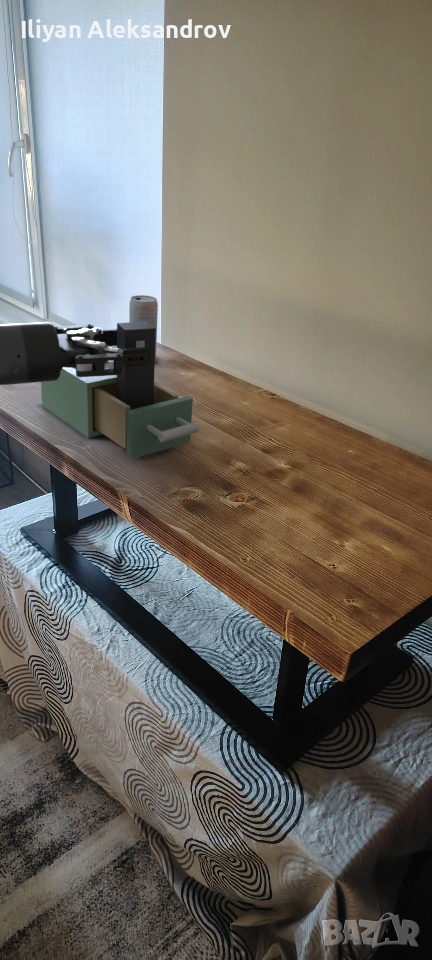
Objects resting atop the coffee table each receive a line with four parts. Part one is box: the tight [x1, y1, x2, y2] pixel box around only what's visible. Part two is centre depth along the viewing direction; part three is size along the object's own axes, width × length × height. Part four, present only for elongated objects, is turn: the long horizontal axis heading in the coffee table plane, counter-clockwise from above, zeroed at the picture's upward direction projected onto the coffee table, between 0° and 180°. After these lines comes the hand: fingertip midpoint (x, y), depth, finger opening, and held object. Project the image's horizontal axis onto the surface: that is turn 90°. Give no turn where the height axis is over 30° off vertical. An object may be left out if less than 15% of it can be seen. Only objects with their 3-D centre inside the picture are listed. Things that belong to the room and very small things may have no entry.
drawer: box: [92, 381, 200, 460], centre depth 90 cm, size 17×10×7 cm, turn 41°
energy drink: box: [128, 294, 159, 361], centre depth 121 cm, size 5×5×12 cm
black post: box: [116, 321, 156, 410], centre depth 89 cm, size 5×5×15 cm
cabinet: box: [40, 360, 117, 439], centre depth 98 cm, size 14×12×9 cm
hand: (138, 345), depth 86 cm, fingers open, 8 cm apart
